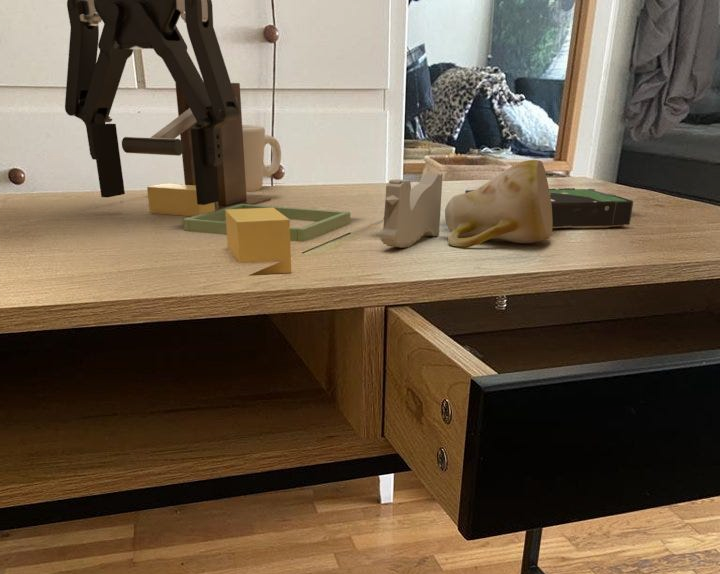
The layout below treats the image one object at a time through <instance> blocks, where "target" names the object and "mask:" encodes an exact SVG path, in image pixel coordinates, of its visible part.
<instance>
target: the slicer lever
mask: <svg viewBox="0 0 720 574" xmlns="http://www.w3.org/2000/svg"><path fill="white" fill-rule="evenodd" d="M195 122H197V121H196V119H195V117H194V115H193V113H192V111H191V110H190V108H189V109H188V110H186V111H185V112H184V113H182V114H181V115H180V116H178V115H177V117H175V118H174V119H173V120H172V121H170V122H169V123H168V124H166V125H164V127H162V128H160V130H158V131H157V132H156V133H154V134H153V135H152V136H150V137H144V136H143V137H141V136H124V137H123V138H122V140H121V148H122V150H123V152H124V153H126V154H137V155H140V154H141V155H158V156H159V155H160V156H175V157H176V156H179V157H180V156H182V152H183V144H182V141H181V138H178V137H179V136H180V134H181V133H183V132H184V131H185V130H187V129H188V128H189V127H190V126H192V125H193V124H194V123H195Z"/></svg>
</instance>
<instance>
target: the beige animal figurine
mask: <svg viewBox="0 0 720 574" xmlns="http://www.w3.org/2000/svg"><path fill="white" fill-rule="evenodd" d="M411 183H412V182H411V180H410V179H399V178H398V179H397V178H395V179H389V181H388V182H387V183H386V185H385V198H384V199H385V200H384V213H383V214H384V216H383V225H382V226H383V228H382V229H381V231H380V233H379V239H380V241H381V242H382V244H383V245H386V247H393V248H394V247H395V248H402V249H403V248H410V246H413V244H415V243H416V242H418V241H419V240H420V239H421V237H422V236H427V237H428V236H429V237H436V236H437V237H438V236H440V228H441V227H440V226H441V225H440V224H441V210H442V209H441V206H442V193H443V173H439V172H424V174H423V176H422V177H421V179H420V180H419V182H418V183H417V184H415V185H414V186H413V187H412V184H411Z"/></svg>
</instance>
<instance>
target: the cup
mask: <svg viewBox="0 0 720 574" xmlns="http://www.w3.org/2000/svg"><path fill="white" fill-rule="evenodd" d="M242 130H243V146H244V163H245V180H246V193H247V192H254V191H259V190H262V189H263V179H264V177H268V176H272V175H273V174H275V173H277V171H278V170H279V168H280V165H281V160H282V150H281V145H280V142H279V141H278V139H277V138H276V137H274V136H272V135H269V134H266V129H265V127H264V126H262V125H255V124H242ZM267 144H269V146H270V148H271V153H272V157H271V158H272V159H271V163H270V165H269V166H268V167H266V165H265V162H264V159H265V158H264V155H265V147H266V145H267Z"/></svg>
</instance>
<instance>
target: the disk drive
mask: <svg viewBox="0 0 720 574" xmlns="http://www.w3.org/2000/svg"><path fill="white" fill-rule="evenodd" d="M474 190H475V189H470V190H469V189H466V190H465V191H464V193H467V192H471V191H474ZM549 192H550V198H551V204H552V219H553V226H552V227H553V228H552V230H553V229H559V228H560V229H561V228H565V229H566V228H571V229H606V228H607V229H608V228H611V227H624V226H625V225H626V226H627V225H628V226H630V224H631V218H632V213H633V207H634V200H632V199H629V198H625V197H622V196H618V195H616V194H612V193H605V192H602V191H597V190H596V189H595V188H587V189H586V188H575V187H574V188H571V187H570V188H569V187H568V188H567V187H565V188H549Z"/></svg>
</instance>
